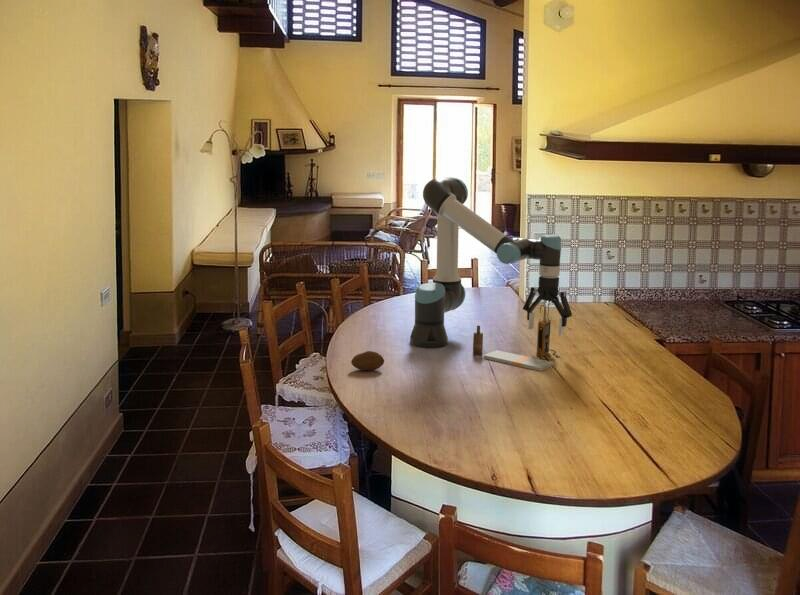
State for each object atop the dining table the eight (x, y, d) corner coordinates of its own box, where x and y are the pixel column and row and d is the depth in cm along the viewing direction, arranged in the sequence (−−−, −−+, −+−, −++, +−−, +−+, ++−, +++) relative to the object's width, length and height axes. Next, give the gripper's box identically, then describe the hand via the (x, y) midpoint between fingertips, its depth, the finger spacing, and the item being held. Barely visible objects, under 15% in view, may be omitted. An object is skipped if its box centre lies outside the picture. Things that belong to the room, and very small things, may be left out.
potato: (350, 368, 275) (350, 349, 274) (381, 366, 277) (382, 347, 276) (352, 373, 269) (352, 354, 267) (385, 372, 271) (385, 353, 269)
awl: (471, 353, 295) (471, 325, 292) (476, 351, 297) (477, 324, 295) (478, 355, 292) (480, 327, 290) (484, 353, 295) (485, 325, 293)
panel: (483, 358, 289) (483, 355, 289) (496, 353, 296) (496, 350, 296) (541, 371, 275) (541, 367, 274) (553, 365, 282) (553, 362, 281)
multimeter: (559, 362, 285) (562, 309, 281) (533, 358, 290) (535, 306, 286) (570, 352, 298) (573, 302, 294) (545, 349, 303) (547, 299, 298)
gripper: (515, 273, 295) (513, 328, 300) (574, 281, 281) (570, 339, 285) (525, 270, 301) (522, 324, 306) (583, 279, 286) (579, 335, 291)
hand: (545, 331), depth 295 cm, fingers open, 12 cm apart
